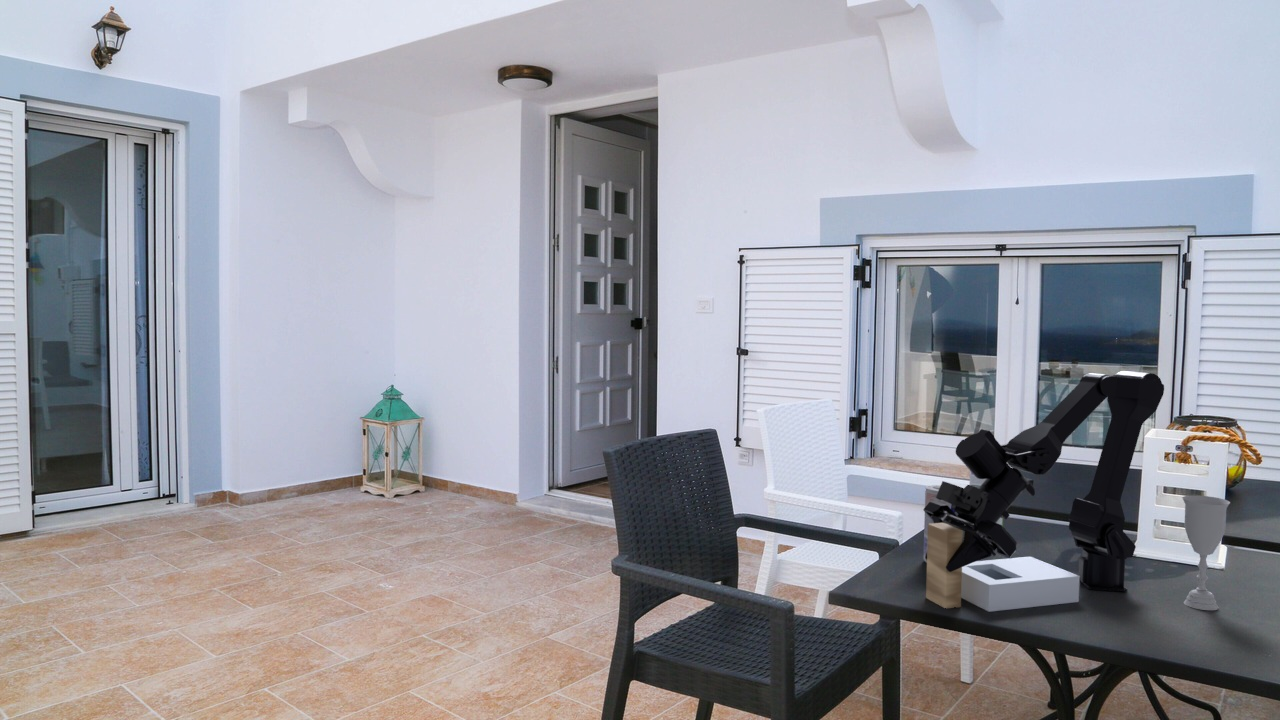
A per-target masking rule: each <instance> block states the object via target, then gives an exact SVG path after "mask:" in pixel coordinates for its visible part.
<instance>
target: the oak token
mask: <svg viewBox="0 0 1280 720" xmlns="http://www.w3.org/2000/svg"><path fill="white" fill-rule="evenodd" d="M963 541H964V531H963V530H960V529H958V528H955V527H953V526H950V525H948V524H945V523H932V524H928V542H927V563H926V583H925V584H926V585H925V586H926V588H925V599H927V600H929V601H931V602H932V603H934V604H936V605H939V606H940V607H942V608H944V609H945V608H946V609H954V607H956V608H961V607H962V598H961V585H962V567H961V568H959V569H956V570H954V571H952V572H949V571H948V570H947V569H946V566H947V564H948V562H949V561H950V559H951V558H952V556H953V555H954V554H955V552H956V551H957V549H958V548H959V547H960V545H961V544H962V543H963Z"/></svg>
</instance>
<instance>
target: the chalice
mask: <svg viewBox="0 0 1280 720" xmlns="http://www.w3.org/2000/svg"><path fill="white" fill-rule="evenodd" d="M1181 498H1182V500H1183V503H1184V504H1185V505H1184V524H1183V527H1184V528H1185V533H1186V536H1187V538H1188V541H1189V543H1190V545H1191V547H1192V549H1193V551H1194V552H1195V553H1196V554H1198V555H1199V562H1198V564H1197V567H1198V570H1199V571H1198V574H1197V575H1196V578H1197V580H1198V586H1197V587H1196V589H1195V588H1194V589H1191V590H1190V591H1189V592H1188V595H1187V596H1186V598H1185V600H1184V601H1183V604H1184V605H1185V606H1186V607H1189V608H1193V609H1197V610H1202V611H1203V610H1204V611H1216V610H1219V609H1220V607H1219V606H1218V604H1217V600H1216V599H1215V595H1214V594H1213V593H1212V592H1211V591H1209V590H1208V588H1206V581H1207V580H1208V579H1209V577H1208V576H1207V573H1206V571H1207V569H1208V568H1209V566H1208V563H1207V558H1208V556H1210V555H1213V554H1214V553H1215V551H1216V549H1217V548H1218V546H1219V545H1220V543H1221V542H1222V539H1223V537H1224V534H1225V533H1226V526H1227V525H1226V522H1227V509H1228V507H1229V506H1230V504H1231V501H1229V500H1227V499H1225V498H1220V497H1214V496H1210V495H1209V496H1207V495H1185V496H1182V497H1181Z"/></svg>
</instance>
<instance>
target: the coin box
mask: <svg viewBox="0 0 1280 720" xmlns="http://www.w3.org/2000/svg"><path fill="white" fill-rule="evenodd" d="M1079 577H1080V576H1078V574H1076V573H1072V572H1070V571H1069V570H1065V569H1063V568H1061V567H1057V566H1055V565H1052V564H1050V563H1047V562H1044V561H1042V560H1040V559H1037V558H1035V557H1034V556H1023V557H1022V556H1021V557H1012V558H1011V557H1010V559H1009V558H1000V559H999V558H998V559H987V560H979V561H976V562H973V563H971V564H968V565H966V566H964V567H962V585H961V599H963V600H965V601H967V602H968V603H971V604H972V605H975V606H977V607H978V608H981V609H983V610H984V611H986V612H988V613H989V612H997V611H998V612H999V611H1007V610H1016V609H1027V608H1033V607H1044V606H1052V605H1059V604H1060V605H1062V604H1071V603H1073V604H1074V603H1079V600H1080V598H1079V597H1080V580H1079Z"/></svg>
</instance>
